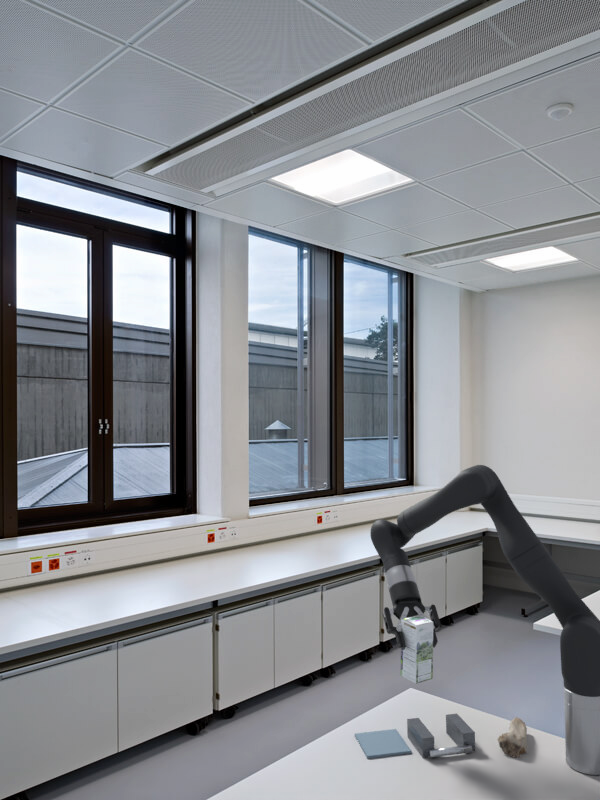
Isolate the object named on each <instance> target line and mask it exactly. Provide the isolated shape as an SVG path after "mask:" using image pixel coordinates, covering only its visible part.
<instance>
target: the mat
mask: <svg viewBox="0 0 600 800" xmlns="http://www.w3.org/2000/svg"><path fill="white" fill-rule="evenodd" d="M354 737H356V738H355V740H356V741H357V740H358V741H357V742H359V743H358V744H360V745H359V746H360V749H361V750H362V752H363V753H364V755H365V757H366V758H367V759H369V760H370V759H375V758H377V759H378V758H384V757H385V758H386V757H393V756H399V755H400V756H401V755H408V754H409V755H410V754H412V749H411V748H410V746H409V745H408V744H407V743H406V741H405V740H404V738H403V737H402V735H401V734H400V733H399V731H398V730H397V728H394V729H393V728H392V729H385V730H384V729H383V730H374V731H366V732H358V733H357V732H355V733H354Z"/></svg>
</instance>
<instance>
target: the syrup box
mask: <svg viewBox="0 0 600 800" xmlns="http://www.w3.org/2000/svg"><path fill="white" fill-rule="evenodd" d="M427 618H428V617H427ZM427 618H425V617H422V616H418V615H417V616H413V617H408V618H404V619H401V627H402V629H401V632H403V636H404V640H405V644H406V647H405V649H404V650H401V649H400V676H401V678H404V679H405V680H408V681H410V682H411V683H413V684H416V685H417V684H420V683H424V682H427V681H429V680H432V679H434V678H433V676H434V675H433V674H434V672H433V671H434V648H433V621H431V619H429V618H428V619H427Z"/></svg>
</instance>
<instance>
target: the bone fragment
mask: <svg viewBox="0 0 600 800" xmlns="http://www.w3.org/2000/svg"><path fill="white" fill-rule="evenodd" d="M527 730H528V728H527V725H526V723H525V722H524V721H523V719H521V718H519V717H518V716H516V717H514V718H513V719H512V720H511V721H510V722H509V731H507V732H505V733H502V734H501V735H499V736H498V738H497V742H498V745H499V746H498V747H499V748H500V749H501V750H502V752H503V754H504V755H505V756H509V757H512V758H516V759H517V758H519V757H520V756H521V755H522V754H527V746H528V744H527V733H528V731H527Z"/></svg>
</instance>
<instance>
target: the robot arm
mask: <svg viewBox="0 0 600 800" xmlns="http://www.w3.org/2000/svg"><path fill="white" fill-rule="evenodd" d="M475 505H481V506H482V507H483V509H484V510H485V511H486V514H488V515H489V516H488V517H490V518H491V520H492V522H493V524H494V526H495V530H496V534H497V537H498V540H499V544H500V547H501V550H502V552H503V555H504V557H505V558H506V559H507V561H508V563H509V564H510V566H511V567H512V568H513V570H514V571H515V573H516V574H517V576H518V577H519V578H520V579H521V580H522V582H523V583H524V584H525V585H526V586H527V587H529V589H531V590H532V592H533V593H535V594H536V595H537V596H539V597H540V598H541V599H542V600H543V601H544V602H545V603H546V605H547V606H549V608H550V610H551V611H552V613H553V614H554V615H555V618H556V619H557V620H558V622H559V624H560V625H561V627H562V630H561V633H560V638H559V639H560V640H559V649H560V667H561V668H560V670H561V675H562V679H563V702H564V703H563V707H564V709H563V710H564V739H565V740H564V742H565V761H566V764H567V765H568V766H569V767H570V768H571V769H573V770H575V771H576V772H580V773H582V774H587V775H590V776H591V775H593V776H598V775H599V776H600V619H599V618H598V617H597V616H596V615H595V613H594V612H593V611H592V610H591V609H590V607H589V606H588V605H587V604H586V603H585V602H584V601H583V599H582V598H581V597H580V596H579V595H578V593H577V592H576V591H575V589H574V588H573V587H572V585H571V584H570V582H569V580H568V578H567V577H566V576H565V574H564V572H563V571H562V570H561V568H560V567H559V565H558V564H557V563H556V561H555V560H554V558H553V556H552V555H551V554H550V552H549V550H548V549H547V548H546V546H545V545H544V543H543V542H542V541H541V539H540V538H539V536H538V535H537V534H536V533H535V531H534V530H533V529H532V528H531V525H529V523H528V522H527V520H526V519H525V518H524V517H523V515H522V514H521V512H520V511H519V509H518V508H517V506H516V505H515V504H514V501H513V500H512V498H511V497H510V495H509V493H508V491H507V490H506V488H505V486H504V484H503V482H502V481H501V480H500V478H499V476H498V475H497V474H496V472H495V471H494V470H493V469H492V468H490V466H486V465H484V464H476V465H474V466H470V467H467V468H465V469H464V470H461V471H460V472H459V473H458V474H457V475H456V476H455V477H454V478H452V479H451V480H450V481H448V483H447V484H446V485H444V486H443V487H442V488H441V489H439V490H438V491H436V492H435V493H434V494H432V495H430V496H428V497H426V498H425V499H423V500H420V501H418V502H417V503H415V504H413V505H411V506H410V507H408V508H406V509H405V510H402V511H401V512H399V513H398V516H397V518H396V523H394V522H392V521H389V520H387V519H381V518H380V519H377V520H375V521H374V522H373V523H372V525H371V527H370V532H369V533H370V534H369V535H370V539H371V542H372V545H373V547H374V549H375V550H376V553H377V554H378V557H379V559H380V560H381V561H382V564H383V568H384V572H385V577H386V578H385V579H386V583H387V584H386V585H387V589H388V592H389V596H390V600H391V604H392V606H393V608H389V607H387V606H386V607H384V608H383V611H382V612H381V613H382V618H383V622H384V627H385V630H386V633H387V634H388V635H390V634H392V635H394V636H395V639H396V640H395V641H396V644H397V647H398V648H399V649H400V651H401V650H404V649H405V647H406V644H405V640H404V636H403V632H401V629H402V627H401V619H404V618H408V617H413V616H417V615H418V616H422V617H425V618H427V619H429V618H430V620H431V621H433V649H434V648H436V646H437V644H438V637H437V634H436V632H437V631H439V629H440V627H441V625H442V624H441V620H440V617H439V614H438V610H437V606H436V605H435V604H431V605H429V606H425V605H424V604H423V602H422V598H421V594H420V590H419V588H418V587H419V586H418V584H417V580H416V577H415V574H414V572H413V569H412V567H411V563H410V559H409V557H408V553H407V552H406V551H405V550H404V549H403V547H405V546H406V545H407V544H408V543H409V542H410V541H411V540H412V539H413V538H414V536H416V535H417V534H419V533H421V532H422V531H424V530H426V529H428V528H430V527H431V526H433V525H435V524H436V523H437V522H439V521H440V520H441V519H443V518H444V517H446V516H448V515H450V514H451V513H453V512H456V511H459V510H461V509H464V508H469V507H471V506H475ZM425 613H427V616H426V614H425ZM393 616H395V617H396V618H397V619H398V622H397V624H396V626H394V624H393V620H392V617H393ZM428 616H429V617H428Z"/></svg>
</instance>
